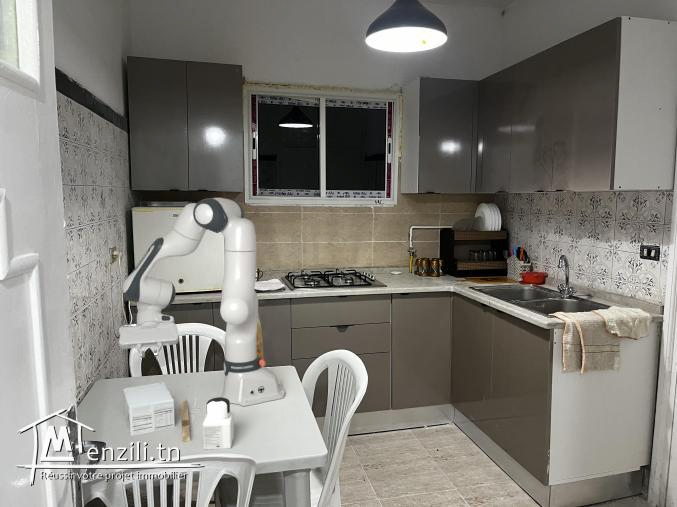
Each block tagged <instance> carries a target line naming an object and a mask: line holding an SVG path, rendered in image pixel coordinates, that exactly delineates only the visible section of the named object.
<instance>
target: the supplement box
mask: <svg viewBox="0 0 677 507" xmlns="http://www.w3.org/2000/svg"><path fill="white" fill-rule="evenodd" d="M123 403H124V404H123V405H124V406H123V407H124V416H125V421H126V423H127V429H128V431H129V434H130V437H133V436H137V435H143V434H148V433H152V432H156V431H157V432H158V431H162V430H167V429H171V428H175V427H176V425H175V423H176V422H175V418H176V417H175V399H174V398H173V396H172V393H171V392H170V391H169V389H168V387H167V385H166V383H165V382H164V381H162V382H155V383H148V384H142V385H138V386H130V387H125V388H123ZM166 428H167V429H166Z"/></svg>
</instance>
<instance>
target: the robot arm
mask: <svg viewBox="0 0 677 507" xmlns="http://www.w3.org/2000/svg"><path fill="white" fill-rule="evenodd" d="M207 230H208V231H211V232H213V233H216V234H219V233H221V234H222V235H223V238H224V239H223V241H224V249H223V250H224V252H223V254H224V256H223V257H224V259H223V260H224V261H223V262H224V265H223V267H224V269H223V280H222V289H221V300H220V307H219V308H220V309H219V310H220V316H221V318H222V320H223V321H225V323H226V327H225V334H224V352H225V353H224V355H225V356H224V357H225V358H224V360H223V361H224V362H223V372H224V382H223V383H224V384H223V389H222V393H221V397H223V398H227V399H228V400H229V401H230V403H231V404H236V405H239V406H242V407H247V406H252V405H257V404H262V403H266V402H272V401H276V400H281V399H283V398H284V397H285V396H286V390H285V388H284V387H283V385H281V384H279V381H278V378H277V376H276V374H275V373H274V372H272V371H271V370H269V369H268V368H267V367H266V365H267V364H266V361H265V360H264V358H263V359H262V358H261V357H260V356H259V355H258V356H257V338H256V337H257V320H258V313H259V297H258V294H257V292H256V291H255V286H256V276H257V252H258V250H257V249H258V248H257V235H256V229H255V224H254V223H253V222H252V221H251V220H249V219H248V218H245V209H244V207H243V205H242V204H241V202H239V201H237V200H235V199H232V198H223V197H208V198H204V199H201V200H199V201H198V202H197V203H195V202H193V203H192V202H191V203H188V204H186V205H184V207H183V209H182V210H181V211H180V213H179V214H178V215H177V217H176V219H175V221H174V223H173V226H172V227H171V229H170V230H169V232H167V233H166V234H165V235H163V236H162V237H158V238H156V239H155V240H154V241H153V242H152V244H151V245H150V246H149V248H148V249H147V250H146V251H145V254H143V255H142V257H141V259H140V261H139V262H138V263H137V264H136V266H135V267H134V269H133V270H132V272H130V274H129V275H128V276H127V277H126V278H125V279H124V282H123V284H122V286H121V293H122V295H123V296H124V298H125V299H126V300H127V301H128V302H133V303H136V309H137V313H136V323H131V324H130V323H129V324H123V325H121V326H119V328H118V334H119V340H118V343H119V344H118V345H119V348H120V349H121V350H125V349H126V350H127V349H137V351H138V353H139V357H140V358H141V359H143V358H146V351H145V350H142V348H149V347H157V348H156V349H154V350H153V352H154V353H153V356H154V357H159V355H160V354H159V353H160V351H161V349H162V348H163V346H172V345H174V346H175V345H178V344H179V339H180V338H179V332H178V327H177V325H176V323H175V318H174V316H172V315H167V314H162V310H164V309H166V308H168V307H169V306H170V305H172V304H173V303H174V302H175V300H176V287H175V285H174V283H173V282H172V281H169V280H165V279H160V278H156V277H152V276H148V275H149V274H150V272H151V271H152V269H153V268H154V267H155V265H156V264H157V262H159V261H160V260H162V259H163V260H164V259H167V258H174V257H175V258H176V257H185V256H189V255H190V254H193V253H194V252H195V251H196V250H197V249H198V248H199V246H200V244H201V242H202V239H203V238H204V236H205V233H206V231H207Z"/></svg>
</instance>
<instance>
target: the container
mask: <svg viewBox="0 0 677 507" xmlns="http://www.w3.org/2000/svg"><path fill="white" fill-rule="evenodd" d="M230 405H231V404H230V401H229V400H228V399H227V398H223V397H222V396H221V397H220V396H218V397H213V398H211V399H209V400H208V401H206V415H205V418H204V420H203V423H202V444H203V445H202V447H203V450H204V449H208V450H226V449H227V450H229V449H232V445H233V442H234V437H235V422H234V419H235V418H234V417H235V416H234V411H231V406H230Z"/></svg>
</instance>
